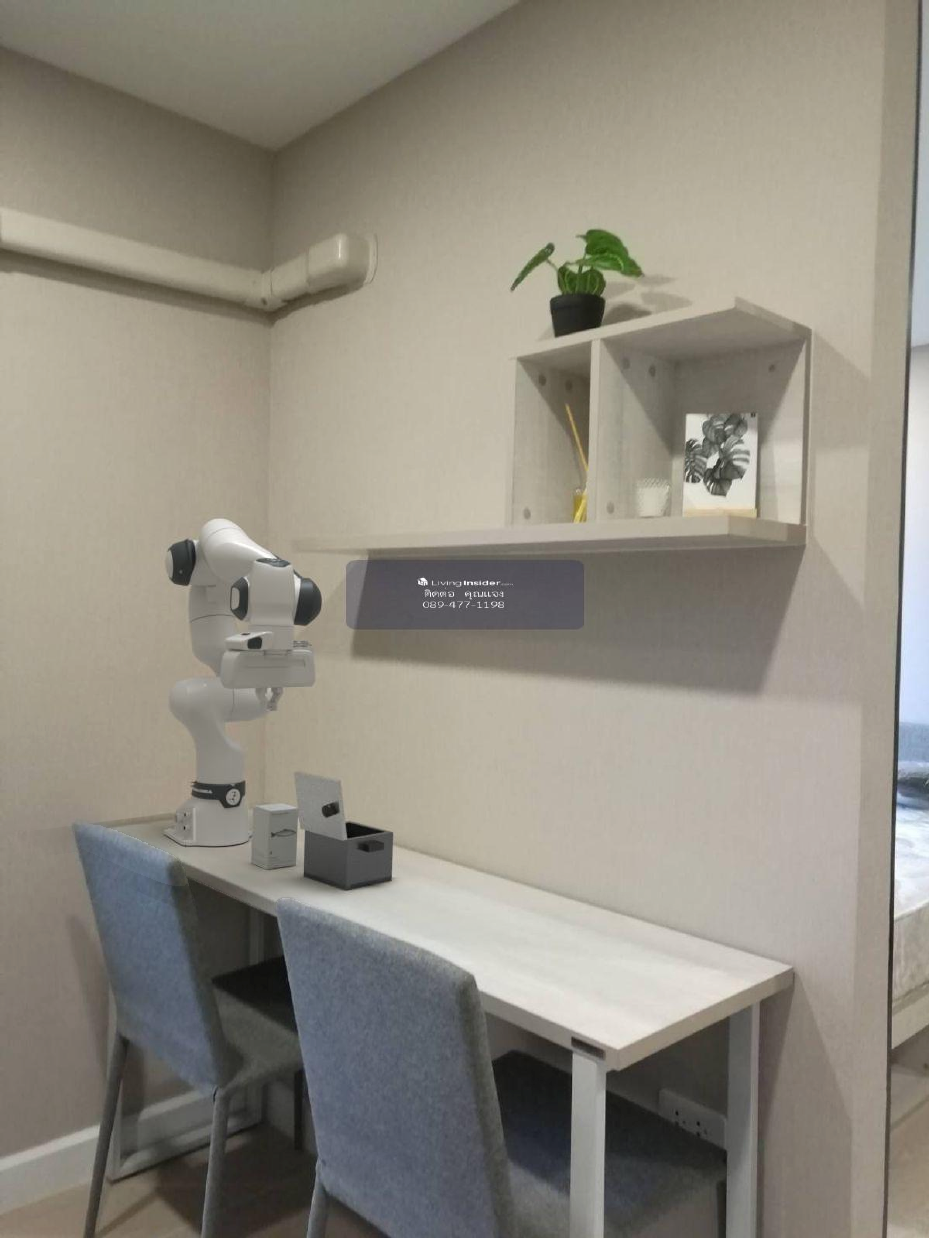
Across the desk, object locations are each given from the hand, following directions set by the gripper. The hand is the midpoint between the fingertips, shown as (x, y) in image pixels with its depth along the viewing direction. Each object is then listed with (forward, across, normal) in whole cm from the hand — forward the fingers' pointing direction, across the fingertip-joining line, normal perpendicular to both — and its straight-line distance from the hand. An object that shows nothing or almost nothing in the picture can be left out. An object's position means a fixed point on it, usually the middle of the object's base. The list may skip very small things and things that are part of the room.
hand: (268, 710), depth 194 cm
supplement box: (+35, -13, -15) cm, 41 cm away
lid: (+19, -11, +4) cm, 22 cm away
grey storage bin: (+35, -18, +4) cm, 40 cm away
